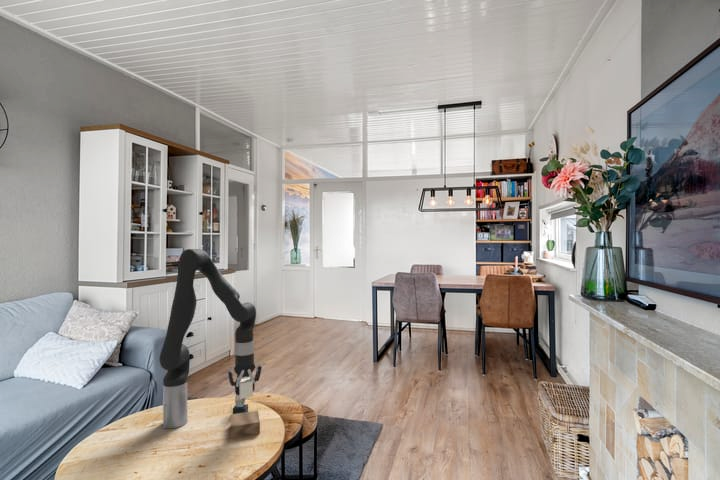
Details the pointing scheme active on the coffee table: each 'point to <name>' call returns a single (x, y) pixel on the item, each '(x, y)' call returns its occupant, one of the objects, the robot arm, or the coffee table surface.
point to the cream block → (245, 388)
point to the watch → (240, 405)
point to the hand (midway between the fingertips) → (244, 393)
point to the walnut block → (245, 424)
